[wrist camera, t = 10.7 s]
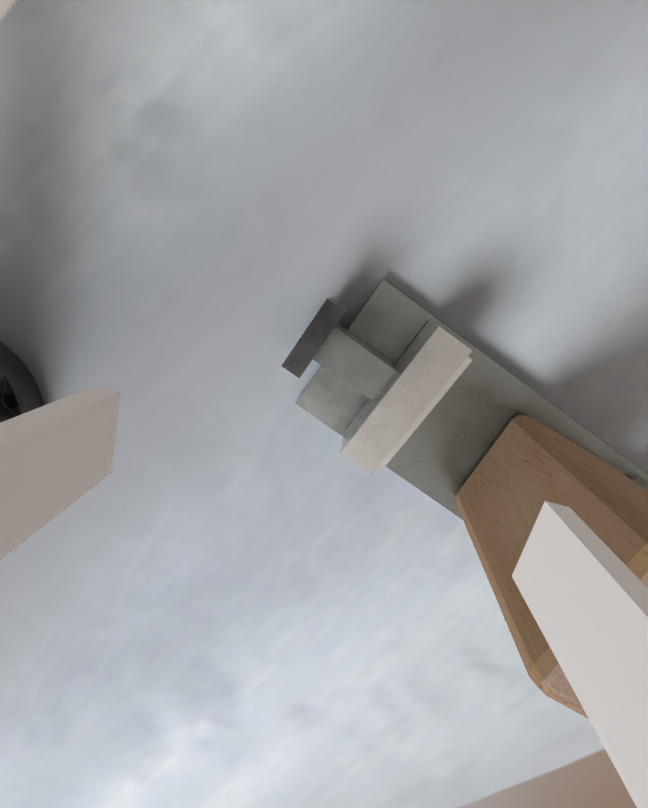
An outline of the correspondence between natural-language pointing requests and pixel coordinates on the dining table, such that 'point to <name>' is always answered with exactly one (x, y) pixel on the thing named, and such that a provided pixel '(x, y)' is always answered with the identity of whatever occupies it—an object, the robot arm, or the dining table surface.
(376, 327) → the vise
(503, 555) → the wooden block
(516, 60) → the dining table surface
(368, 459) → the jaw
